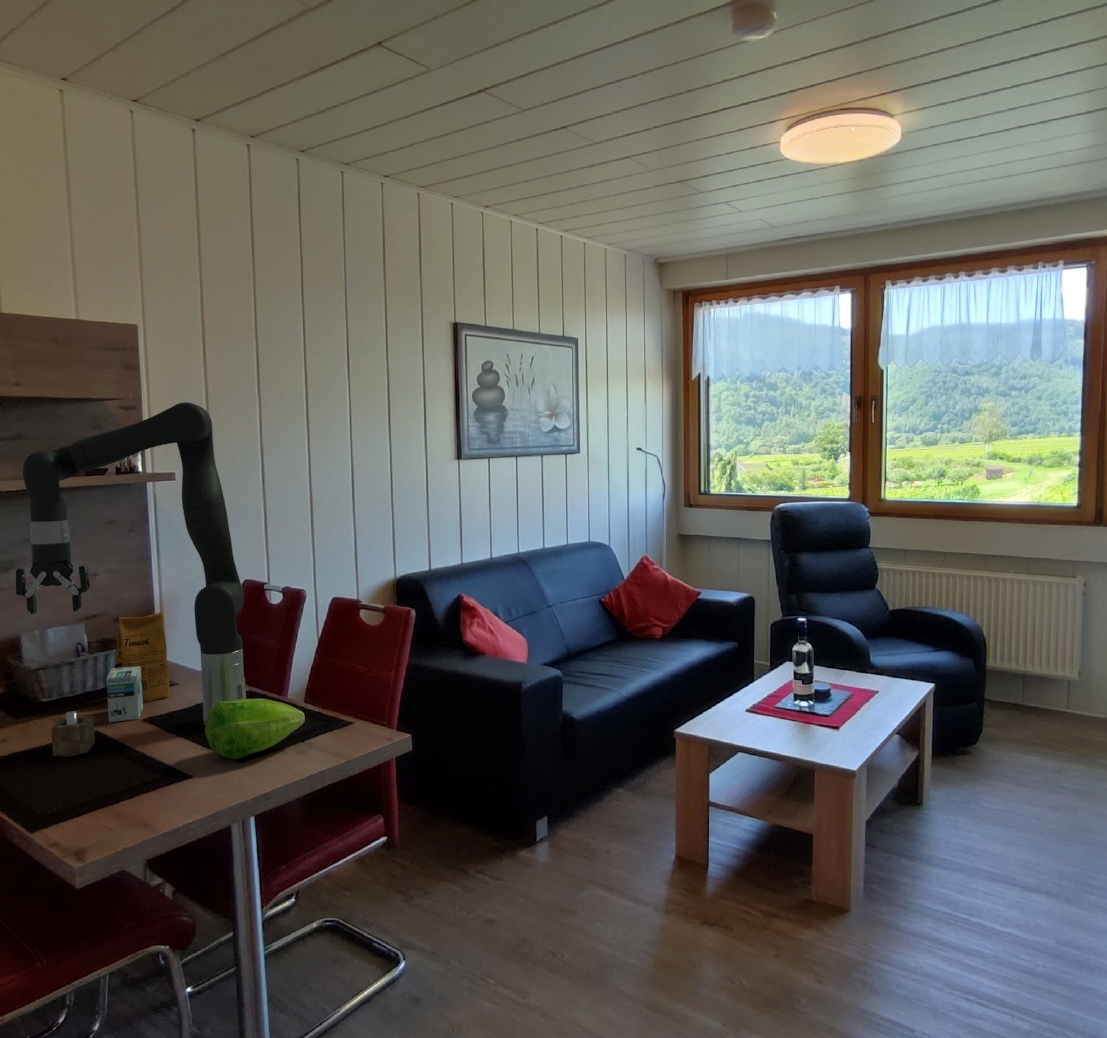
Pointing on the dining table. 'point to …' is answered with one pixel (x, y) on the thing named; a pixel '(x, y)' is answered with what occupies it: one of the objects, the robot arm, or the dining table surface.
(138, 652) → the coffee package
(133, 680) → the light bulb box
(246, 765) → the dining table surface
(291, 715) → the lettuce
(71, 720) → the post
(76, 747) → the collar
